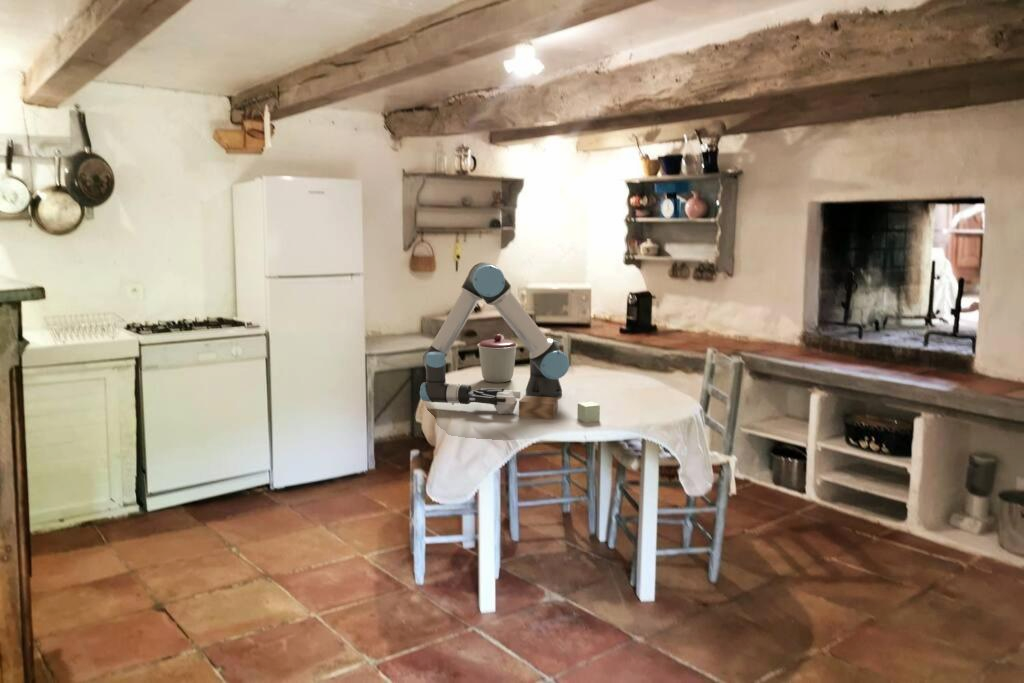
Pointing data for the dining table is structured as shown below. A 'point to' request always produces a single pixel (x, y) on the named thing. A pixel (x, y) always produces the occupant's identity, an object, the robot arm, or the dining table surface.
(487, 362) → the canister
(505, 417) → the dining table surface
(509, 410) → the die
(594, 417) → the green cube
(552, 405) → the plinth
